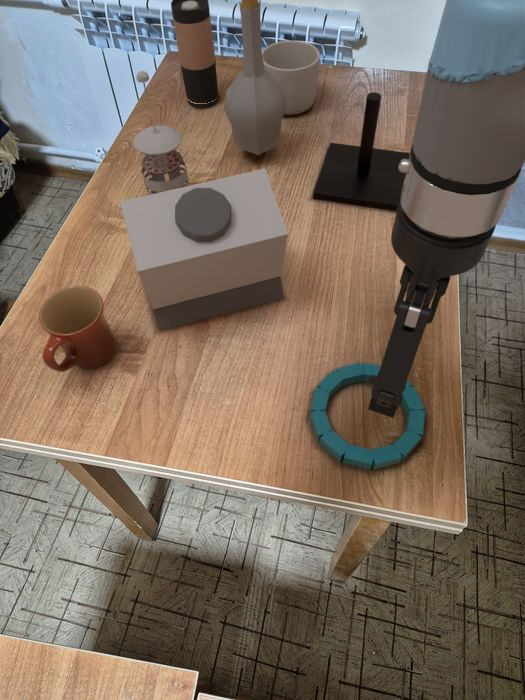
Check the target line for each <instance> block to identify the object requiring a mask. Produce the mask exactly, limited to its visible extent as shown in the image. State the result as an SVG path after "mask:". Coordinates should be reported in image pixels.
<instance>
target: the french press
mask: <svg viewBox="0 0 525 700" xmlns="http://www.w3.org/2000/svg"><path fill="white" fill-rule="evenodd" d="M136 81H137V82H138V83H142V85H143V88H144V92H145V97H146V102H147V105H148V110H149V113H150V119H151V123H152V125H150V126H148V127H145V128H144V129H142V130H141V131H139V132H138V133H137V134H136V135H135V136H134V138H133V140H132V145H133V148H134V149H135V150H136V151H138V152H139V153H141V154H142V155H145V156H144V157H143V158H142V160H141V167H142V168H141V176H142V179H143V182H144V186H145V191H146V194H147V195H151V194H156V193H160V192H164V191H169V190H173V189H178V188H182V187H186V186H191V185H190V180H189V175H188V169H187V164H186V163H185V161H184V159H183V156H182V154H181V153H180V152H178V151H177V150H176V149H178V147H179V146H180V145H181V142H182V135H181V133H180V131H179V130H177V129H176V128H174V127H172V126H168V125H164V124H163V125H155V122H154V119H153V113H152V109H151V104H150V100H149V95H148V91H147V87H146V83H147V82H148V81H150V76H149V73H148V72H147V71H145V70H140V71H138V72H137V73H136ZM181 165H183V166H181ZM181 171H182V172H181ZM145 172H146V173H145ZM144 173H145V174H144ZM165 175H168V180H166V177H165ZM149 176H150V177H149ZM148 177H149V178H148Z"/></svg>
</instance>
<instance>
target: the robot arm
mask: <svg viewBox="0 0 525 700" xmlns="http://www.w3.org/2000/svg"><path fill="white" fill-rule="evenodd" d="M434 41H435V42H434V44H433V48H432V51H431V54H430V58H429V60H428V64H427V71H426V76H425V79H424V86H423V90H422V94H421V99H420V104H419V109H418V113H417V117H416V118H417V119H416V123H415V128H414V133H413V139H412V142H411V147H410V152H409V153H410V156H409V160H408V159H402V160H401V161H400V163H399V165H398V170H399V171H400V172H402V173H406V176H405V179H404V184H403V188H402V193H401V199H400V202H399V204H398V207H397V211H395V215H394V221H393V225H392V230H391V234H390V242H391V246H392V250H393V251H394V253H395V255H396V256H397V258H399V260H400V261H401V262H402V263H403V264H404V267H403V269H402V272H401V276H400V278H399V284H400V288H399V291H398V295H397V298H396V300H395V304H394V308H393V313H394V314H395V316H396V317H395V319H394V323H393V326H392V329H391V333H390V336H389V339H388V343H387V346H386V349H385V353H384V356H383V359H382V362H381V365H380V366H381V368H380V371H379V373H378V376H375V375H372V374H371V375H370V377H369V380H368V382H369V384H372V383H373V384H372V385H374V386H373V387H372V389H371V392H370V393H371V397H370V400H369V405H368V407H367V409H368V410H369V411H372V412H374V413H377V414H381V415H383V416H386V417H389V418H392V419H394V417H395V415H396V412H397V409H398V407H399V405H400V404H401V401H402V398H403V397H402V394H403V391H404V390H405V387H406V382H407V381H408V378H409V376H410V373H411V370H412V367H413V364H414V361H415V359H416V357H417V356H416V355H417V352H418V350H419V347H420V344H421V341H422V338H423V335H424V333H425V330H426V327H427V325H429V324H431V323H432V322H433V321H434V318H435V315H436V312H437V309H438V306H439V303H440V301H441V298H442V297H443V296H445V295H446V293H447V290H448V287H449V284H450V282H451V277H454V276H458V275H461V274H464V273H466V272H468V271H470V270H472V269H474V268H475V267H476V266H477V265H478V264H479V263H480V262H481V260H482V259H483V257H484V255H485V252H486V250H487V248H488V246H489V244H490V242H491V239H492V237H493V234H494V232H495V230H496V227H497V225H498V223H499V221H500V219H501V218H502V216H503V214H504V212H505V210H506V207H507V205H508V203H509V200H510V198H511V196H512V193H513V192H514V190H515V187H516V185H517V182H518V180H519V178H520V175H521V172H522V168H523V166H524V164H525V0H445V3H444V8H443V11H442V16H441V19H440V22H439V26H438V30H437V33H436V37H435V40H434ZM368 382H367V383H368Z"/></svg>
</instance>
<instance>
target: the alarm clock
mask: <svg viewBox="0 0 525 700" xmlns="http://www.w3.org/2000/svg"><path fill="white" fill-rule="evenodd" d="M119 206H120V209H121V213H122V217H123V220H124V225H125V229H126V232H127V235H128V240H129V244H130V248H131V251H132V255H133V258H134V262H135V266H136V270H137V273H138V275H139V279H140V280H141V283H142V286H143V288H144V291H145V293H146V296H147V298H148V302H149V304H150V306H151V308H152V311H153V315H154V319H155V321H156V324H157V328H158V331H159V332H161V331H165V330H169V329H172V328H177V327H179V326H183V325H187V324H191V323H194V322H199V321H202V320H205V319H210V318H213V317H217V316H221V315H224V314H229V313H233V312H235V311H240V310H244V309H247V308H251V307H255V306H258V305H262V304H267V303H270V302H274V301H277V300H281V299H284V294H283V286H282V278H281V277H282V272H283V266H284V260H285V254H286V250H287V249H286V248H287V243H288V237H289V233H288V229H287V227H286V224H285V221H284V219H283V216H282V213H281V210H280V207H279V204H278V201H277V199H276V195H275V193H274V190H273V188H272V184H271V181H270V178H269V176H268V173H267V170H266V168H262V169H257V170H252V171H249V172H243V173H239V174H235V175H230V176H226V177H222V178H217V179H213V180H207V181H203V182H200V183H196V184H191V185H190V186H188V185H187V186H186V187H182V188H178V189H173V190H169V191H164V192H160V193H156V194H151V195H148V194H147V195H143V196H138V197H134V198H130V199H125V200H120V201H119Z"/></svg>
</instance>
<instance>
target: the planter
mask: <svg viewBox="0 0 525 700" xmlns="http://www.w3.org/2000/svg"><path fill="white" fill-rule="evenodd" d="M262 57H263V64H264V69H265V70H266V71H267V72H268V73H269V74H270V75H271V76H272V77H273V78H274V79H275V80H276V81H277V82H278V83H279V84H280V85H281V86H282V87H283V91H284V96H285V100H286V104H287V105H286V109H285V112H284V115H283V116H295V115H299V114H302V113H304V112H307V111H308V110H309V109H310V108H311V107H312V106H313V104H314V102H315V99H316V96H317V90H318V83H319V74H320V73H319V71H320V61H321V53H320V51H319V49H318V48H317V47H316V46H315V45H313V44H311V43H308V42H305V41H302V40H281V41H277V42H274V43H271V44H269V45H267V46H266V47H265V48H263V50H262Z"/></svg>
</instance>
